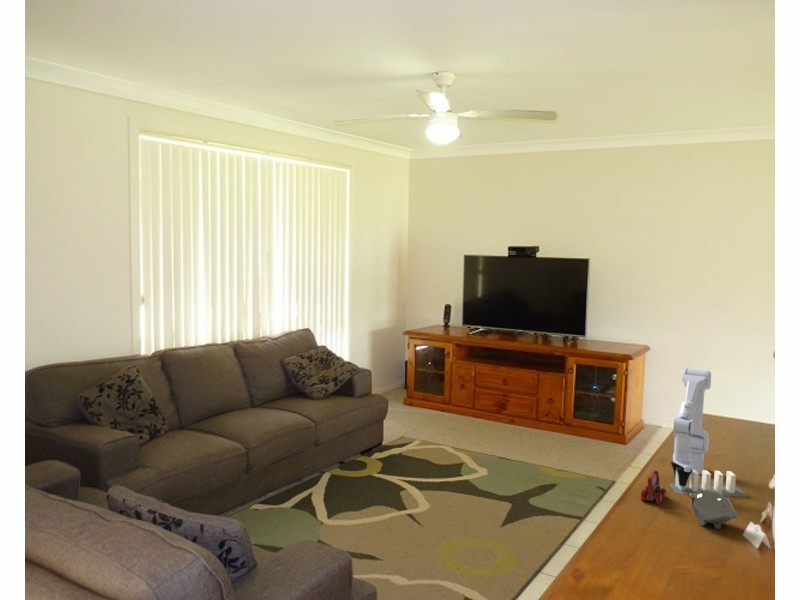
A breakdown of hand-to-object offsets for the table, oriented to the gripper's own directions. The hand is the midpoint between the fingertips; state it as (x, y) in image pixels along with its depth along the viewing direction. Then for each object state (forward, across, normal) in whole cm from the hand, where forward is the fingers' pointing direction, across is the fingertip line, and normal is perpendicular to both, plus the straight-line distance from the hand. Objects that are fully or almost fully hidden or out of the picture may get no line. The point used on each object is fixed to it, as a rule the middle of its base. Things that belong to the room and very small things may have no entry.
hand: (680, 483), depth 250 cm
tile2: (+2, 0, -5) cm, 5 cm away
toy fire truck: (+3, -11, +13) cm, 17 cm away
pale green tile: (+2, 0, 0) cm, 2 cm away
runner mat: (+2, 0, -10) cm, 10 cm away
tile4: (+2, 0, -14) cm, 14 cm away
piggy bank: (+3, -30, -1) cm, 30 cm away
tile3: (+2, 0, -10) cm, 10 cm away
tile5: (+2, 0, -18) cm, 19 cm away
